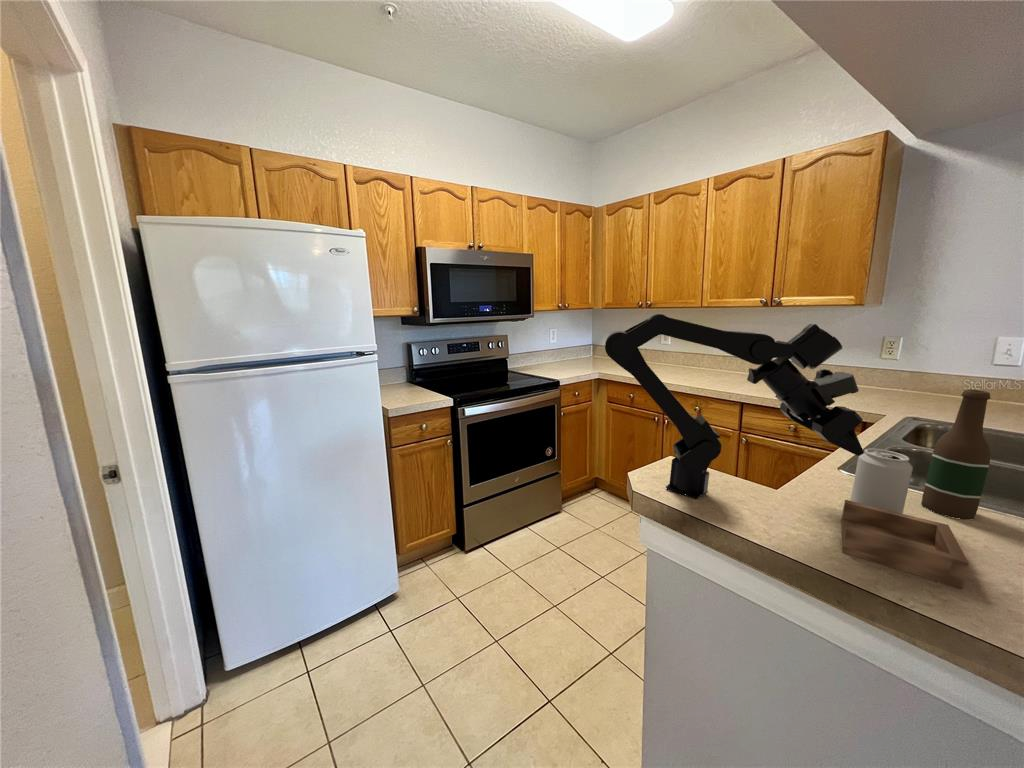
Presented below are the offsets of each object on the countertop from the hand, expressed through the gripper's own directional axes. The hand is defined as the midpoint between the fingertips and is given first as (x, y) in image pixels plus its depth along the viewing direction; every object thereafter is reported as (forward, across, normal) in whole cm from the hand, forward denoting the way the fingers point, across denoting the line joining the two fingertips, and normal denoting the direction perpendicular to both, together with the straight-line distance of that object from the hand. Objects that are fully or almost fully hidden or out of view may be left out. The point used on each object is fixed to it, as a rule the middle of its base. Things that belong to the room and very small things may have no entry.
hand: (846, 445), depth 76 cm
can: (+14, 0, +4) cm, 15 cm away
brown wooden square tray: (+10, -14, +8) cm, 19 cm away
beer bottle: (+24, +5, -6) cm, 25 cm away
